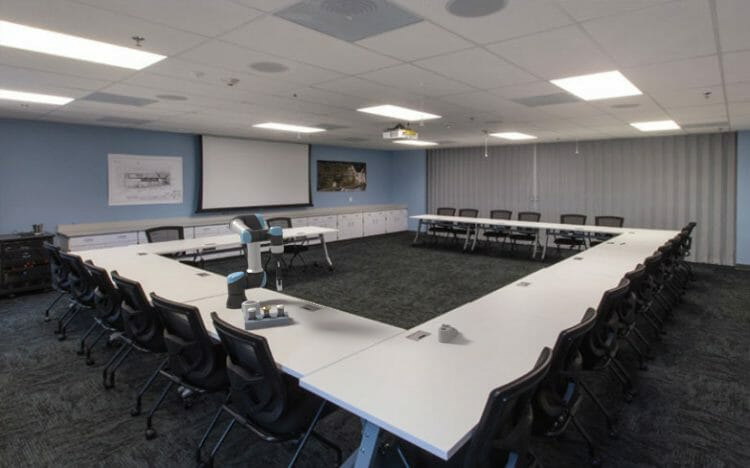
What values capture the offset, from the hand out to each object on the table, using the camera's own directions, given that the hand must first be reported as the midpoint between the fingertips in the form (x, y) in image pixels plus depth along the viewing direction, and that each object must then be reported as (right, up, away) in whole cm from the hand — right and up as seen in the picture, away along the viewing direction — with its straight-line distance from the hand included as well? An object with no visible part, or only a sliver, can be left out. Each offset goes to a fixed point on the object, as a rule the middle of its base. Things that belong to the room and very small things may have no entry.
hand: (279, 288), depth 255 cm
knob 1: (-16, -18, -3) cm, 24 cm away
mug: (-22, -20, +15) cm, 33 cm away
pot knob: (-8, -17, 0) cm, 19 cm away
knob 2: (0, -17, +2) cm, 17 cm away
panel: (-8, -21, 0) cm, 23 cm away
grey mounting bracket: (+99, -23, -30) cm, 106 cm away
